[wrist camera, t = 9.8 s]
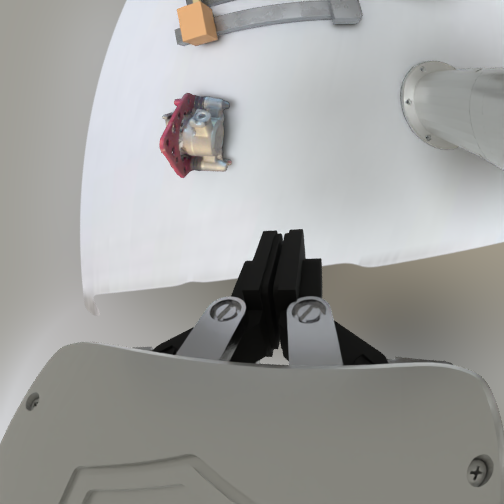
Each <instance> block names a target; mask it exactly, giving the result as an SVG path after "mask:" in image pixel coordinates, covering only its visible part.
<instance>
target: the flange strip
mask: <svg viewBox="0 0 504 504" xmlns="http://www.w3.org/2000/svg"><path fill="white" fill-rule="evenodd" d="M230 1H234V0H201V2H202V3H204V4H205V5H207V6H208V7H211V6H215V5H218V4H222V3H226V2H230ZM186 3H187V5H190V4H193V0H186Z"/></svg>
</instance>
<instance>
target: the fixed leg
mask: <svg viewBox="0 0 504 504" xmlns="http://www.w3.org/2000/svg"><path fill="white" fill-rule="evenodd" d="M327 2H328V6H329V10H330V14H331V18H332V22H333V24H357V23H358V21H359V20H360V18H361V17H360V13H359V9H358V5H357V2H356V0H327Z"/></svg>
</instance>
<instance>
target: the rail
mask: <svg viewBox="0 0 504 504" xmlns="http://www.w3.org/2000/svg"><path fill="white" fill-rule="evenodd" d="M356 2H357V5H358V9H359V13H360V17H362V16H363V15H362V11H361V7H360V4H359V0H356ZM213 18H214V23H215V28H216V33H217V36H219V35H223V34H227V33H231V32H235V31H240V30H245V29H250V28H255V27H261V26H267V25H273V24H280V23H288V22H298V21H310V20H328V19H332V18H331V14H330V10H329V6H328V2H327V0H318V1H303V2H292V3H283V4H276V5H269V6H263V7H257V8H252V9H247V10H242V11H237V12H233V13H229V14H225V15H221V16H217V17H213ZM360 19H361V18H360ZM175 34H176V40H177V44H179V45H182V46H185V45H188V44H189V43H186V42H183V39H182V34H181V29H180V28H179V29H176V30H175Z"/></svg>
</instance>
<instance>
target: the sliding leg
mask: <svg viewBox="0 0 504 504" xmlns="http://www.w3.org/2000/svg"><path fill="white" fill-rule="evenodd" d="M177 12H178V18H179V23H180V29H181V34H182V39H183V42H186V43H189V44H192V45H195V46H197V45H201V44H204V43H208V42H211V41H215V40H218V38H217V33H216V28H215V23H214V18H213V13H212V9H211V8H209V7H208V6H207V5H205V4H204V3H202V2H201V0H193V4H190V5H187V6H184V7H181V8H179V9H177Z"/></svg>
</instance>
